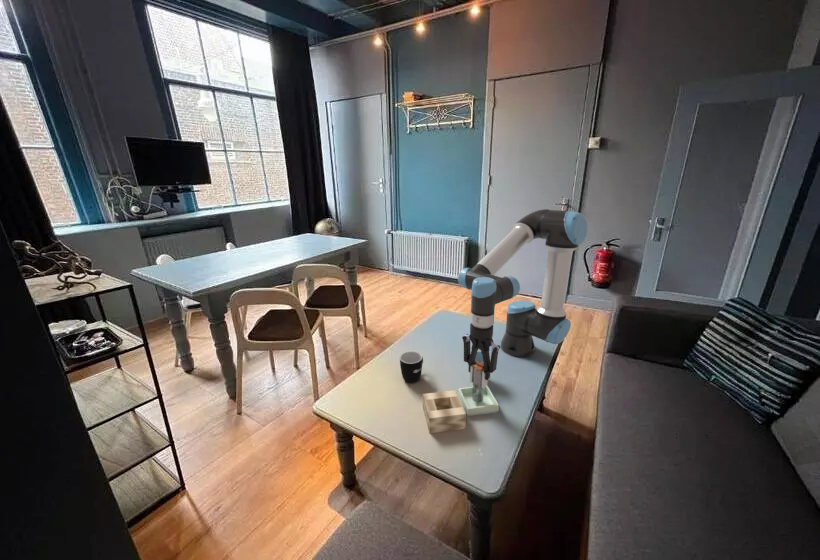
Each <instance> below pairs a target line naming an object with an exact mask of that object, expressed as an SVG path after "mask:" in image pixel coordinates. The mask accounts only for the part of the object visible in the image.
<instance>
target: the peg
mask: <svg viewBox="0 0 820 560" xmlns="http://www.w3.org/2000/svg"><path fill="white" fill-rule="evenodd" d="M482 371H484V362H481V361H476V362H474V368H473V382H472V387H473V388H472V400H473V401H475V402H482V401H483V396H484V388H482Z"/></svg>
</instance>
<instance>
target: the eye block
mask: <svg viewBox="0 0 820 560" xmlns="http://www.w3.org/2000/svg"><path fill="white" fill-rule="evenodd" d="M422 410H423V412H424V417H425V420H426V425H427V429H428V433H429V434H434V433H442V432H449V431H456V430H465V429H466V424H467V423H466V422H467V420H466V419H467V414H466V412H465V409H464V407H463V405H462V402H461V400H460V398H459V396H458V391H457V390H456V389H454V390H446V391H437V392H429V393H422Z"/></svg>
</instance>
